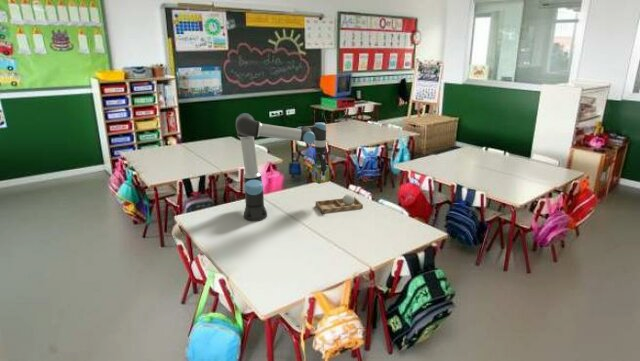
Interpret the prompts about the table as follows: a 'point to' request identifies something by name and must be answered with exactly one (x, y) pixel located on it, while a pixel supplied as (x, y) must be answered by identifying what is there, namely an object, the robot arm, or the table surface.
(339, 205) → the tray
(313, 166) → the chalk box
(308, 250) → the table surface
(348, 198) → the grey ball
